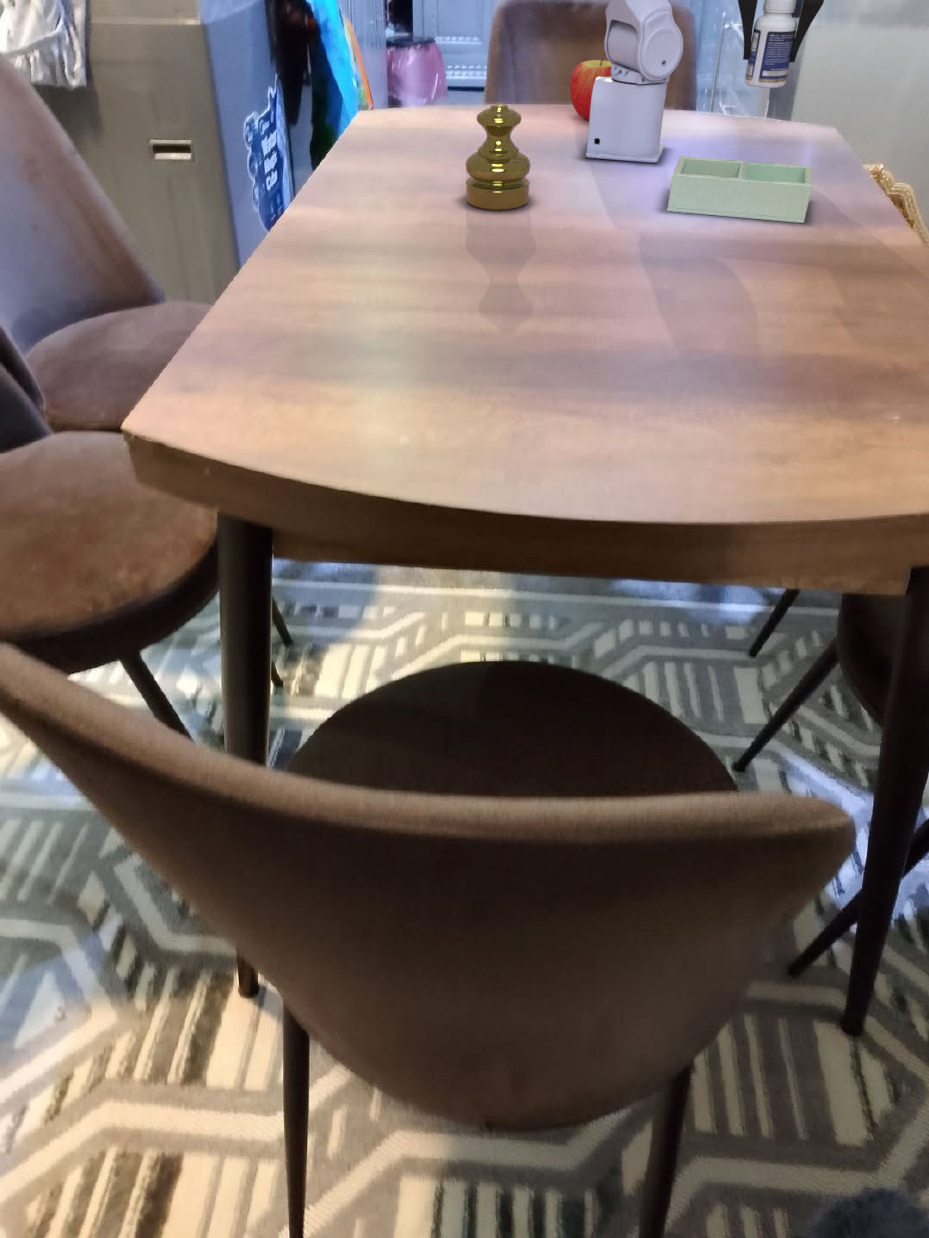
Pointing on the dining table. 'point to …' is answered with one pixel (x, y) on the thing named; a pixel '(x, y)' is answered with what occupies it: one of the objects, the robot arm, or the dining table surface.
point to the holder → (741, 189)
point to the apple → (586, 84)
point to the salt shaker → (498, 164)
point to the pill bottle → (771, 45)
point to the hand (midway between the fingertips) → (769, 60)
